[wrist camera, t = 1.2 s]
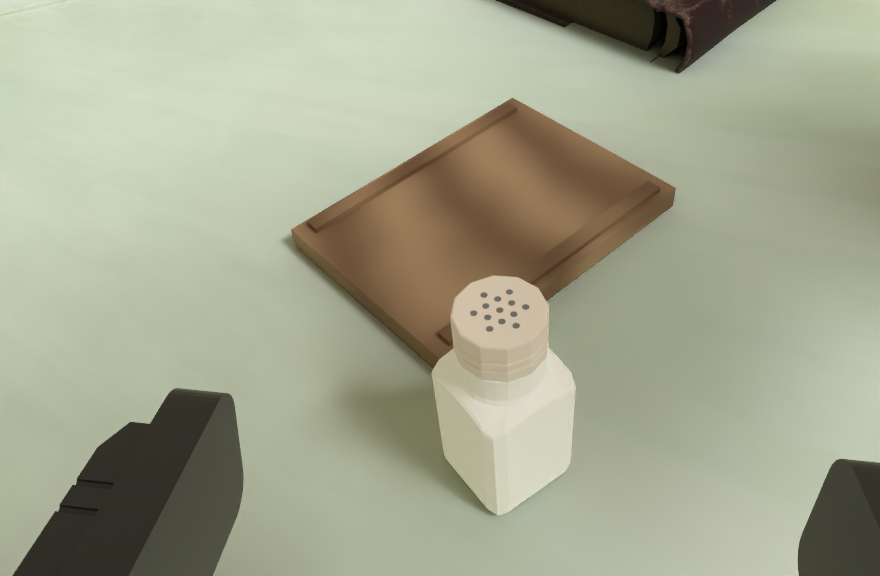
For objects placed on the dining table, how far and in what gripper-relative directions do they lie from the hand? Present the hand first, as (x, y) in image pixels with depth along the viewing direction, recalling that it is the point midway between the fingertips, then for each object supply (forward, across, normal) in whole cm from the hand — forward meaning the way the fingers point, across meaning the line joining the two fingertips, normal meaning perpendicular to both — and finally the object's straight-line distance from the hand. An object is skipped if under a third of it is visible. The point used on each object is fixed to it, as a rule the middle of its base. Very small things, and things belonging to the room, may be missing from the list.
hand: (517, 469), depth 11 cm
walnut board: (+30, +1, +12) cm, 32 cm away
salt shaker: (+16, -1, +16) cm, 22 cm away
